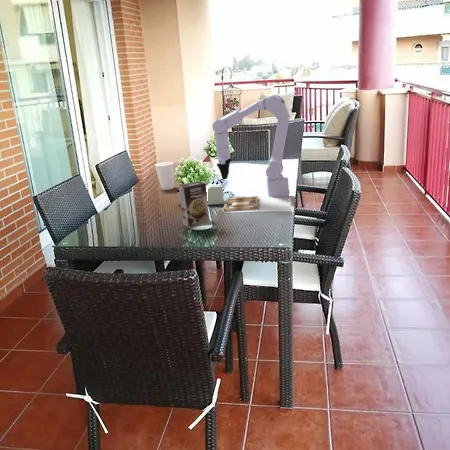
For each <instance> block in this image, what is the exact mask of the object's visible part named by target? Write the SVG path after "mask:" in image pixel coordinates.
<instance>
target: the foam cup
mask: <svg viewBox="0 0 450 450" xmlns="http://www.w3.org/2000/svg"><path fill="white" fill-rule="evenodd" d="M174 169H175V164H174V162H173V161H165V162H159V163H156V164H155V170H156V173H157V177H158V180H159V184H160V188H161V190H163V191H167V190H172V189H174V187H175V181H174V180H175V173H174V172H175V170H174Z"/></svg>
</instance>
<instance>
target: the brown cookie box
mask: <svg viewBox="0 0 450 450" xmlns="http://www.w3.org/2000/svg"><path fill="white" fill-rule="evenodd" d="M206 187H207V183H206V182H203V181H193V182H189V183H183V184H178V191H179V193H178V194H179V199H180V208H181V217H182V218H181V219H182V224H183V226H185V227H187V228H188V229H191V228H195V227H199V226H201V224H198V223H203V222H206V221H210V211H209V205H208V201H207V192H206ZM193 224H194V225H193ZM195 224H196V225H195Z"/></svg>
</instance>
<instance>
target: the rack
mask: <svg viewBox="0 0 450 450" xmlns="http://www.w3.org/2000/svg"><path fill="white" fill-rule="evenodd" d="M244 201H249V204H250V203H251V204H252V203H255V204H254V205H250V206H244V207H233V206H231V207H230V206H229V207H228V205H232V203H234V202H244ZM222 209H223V212H233V211H236V212H237V211H249V210H258V209H259V196H258V195H257V196H256V195H255V196H241V197H230V198H225V200H224V204H223V207H222Z"/></svg>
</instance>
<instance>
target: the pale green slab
mask: <svg viewBox="0 0 450 450" xmlns="http://www.w3.org/2000/svg"><path fill="white" fill-rule="evenodd" d="M222 204H223V205H224V204H225V199H224V191H223V185H209V189H208V206H209V205H222Z"/></svg>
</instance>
